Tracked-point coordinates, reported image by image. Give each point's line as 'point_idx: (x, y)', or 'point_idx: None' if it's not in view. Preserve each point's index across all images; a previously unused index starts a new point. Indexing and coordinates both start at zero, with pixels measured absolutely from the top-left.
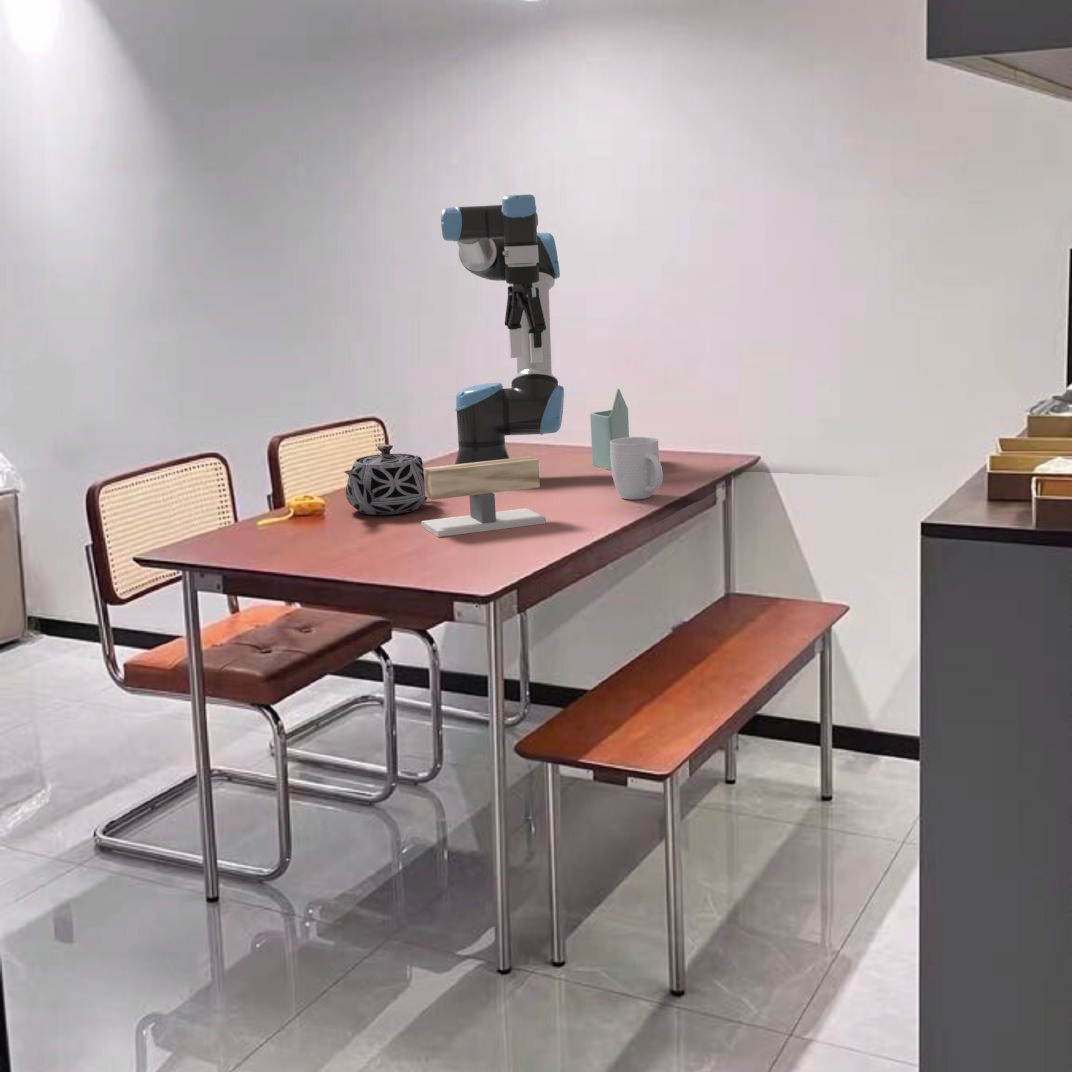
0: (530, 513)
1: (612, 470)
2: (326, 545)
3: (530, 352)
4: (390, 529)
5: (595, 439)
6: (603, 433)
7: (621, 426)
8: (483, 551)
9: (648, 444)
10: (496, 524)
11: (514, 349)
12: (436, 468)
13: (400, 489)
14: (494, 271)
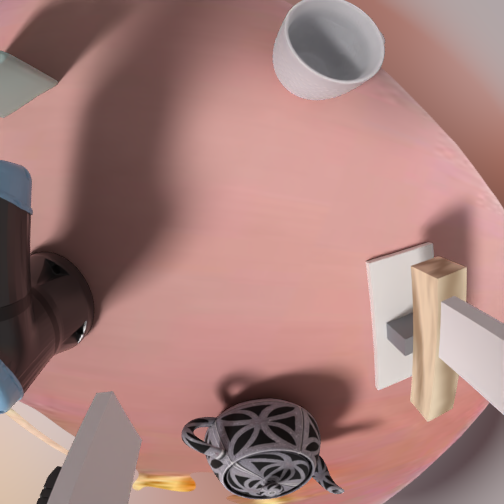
0: (403, 260)
1: (326, 97)
2: (400, 444)
3: (469, 382)
4: (370, 413)
5: None
6: (5, 82)
7: None
8: (491, 314)
9: (376, 28)
10: None
11: (122, 460)
12: (441, 406)
13: (319, 435)
14: None
